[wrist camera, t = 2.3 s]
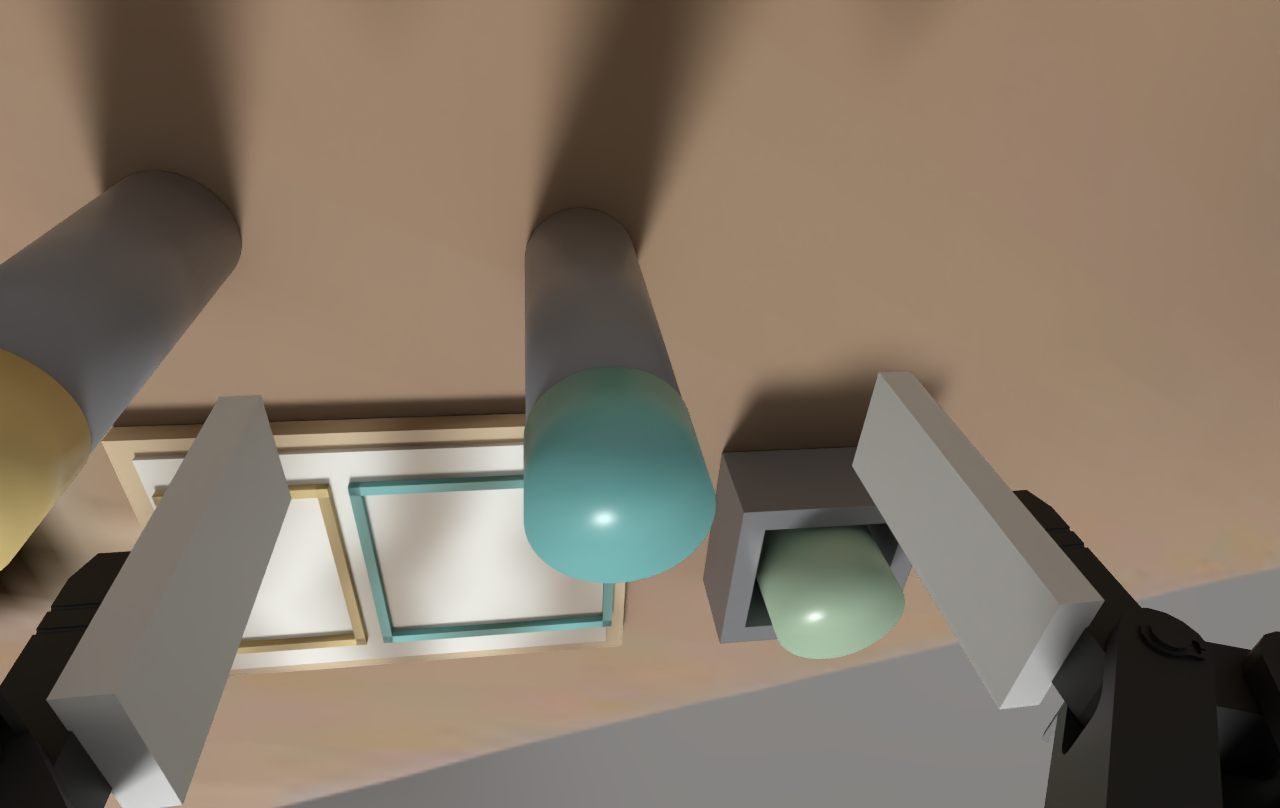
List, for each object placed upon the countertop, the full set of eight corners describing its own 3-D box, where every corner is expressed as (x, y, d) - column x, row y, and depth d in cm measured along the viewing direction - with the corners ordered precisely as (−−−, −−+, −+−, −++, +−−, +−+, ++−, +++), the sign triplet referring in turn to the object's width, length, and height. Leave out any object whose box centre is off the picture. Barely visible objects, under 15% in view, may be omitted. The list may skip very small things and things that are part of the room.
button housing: (897, 445, 30) (936, 502, 27) (857, 569, 34) (887, 630, 31) (722, 452, 29) (743, 512, 26) (703, 579, 33) (719, 643, 30)
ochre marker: (224, 169, 21) (-44, 414, 11) (256, 288, 23) (55, 582, 13) (82, 167, 20) (-336, 422, 10) (128, 289, 22) (-181, 596, 12)
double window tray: (632, 410, 27) (636, 430, 26) (619, 631, 35) (623, 654, 34) (112, 427, 25) (94, 450, 24) (217, 662, 32) (207, 687, 31)
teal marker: (639, 206, 23) (726, 436, 13) (633, 311, 25) (705, 576, 15) (520, 206, 22) (519, 444, 13) (525, 312, 24) (527, 588, 15)
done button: (878, 496, 29) (920, 567, 26) (851, 581, 32) (886, 653, 29) (759, 502, 29) (787, 576, 25) (742, 588, 31) (766, 663, 28)
